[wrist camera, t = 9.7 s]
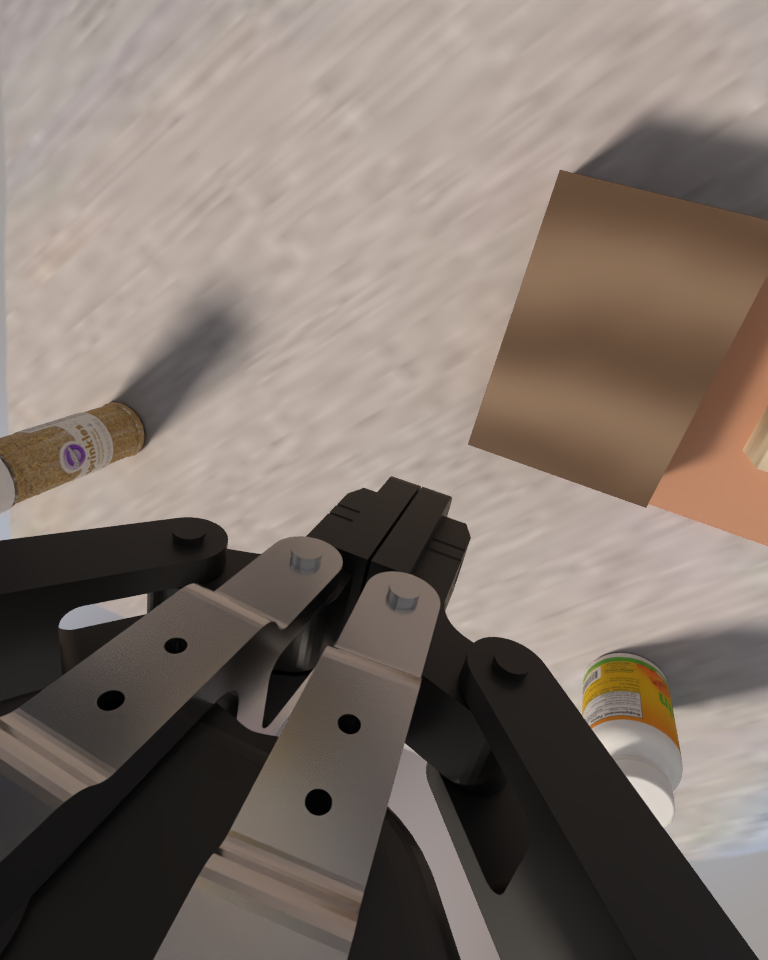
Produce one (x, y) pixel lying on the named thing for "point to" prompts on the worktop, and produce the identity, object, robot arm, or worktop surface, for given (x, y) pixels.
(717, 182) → the worktop surface
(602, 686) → the supplement bottle
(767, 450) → the birch block
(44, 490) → the sprinkles bottle
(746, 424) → the terracotta mat
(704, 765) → the worktop surface
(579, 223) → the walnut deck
